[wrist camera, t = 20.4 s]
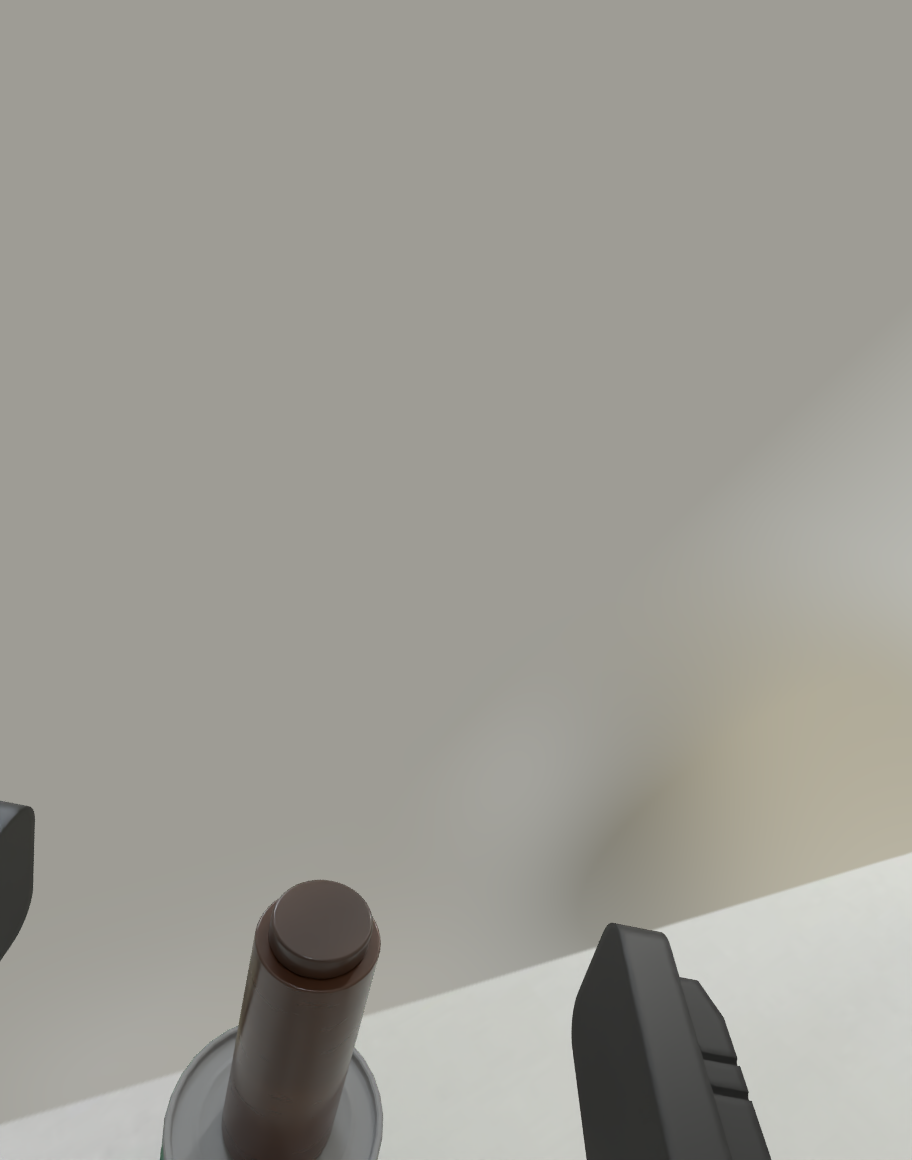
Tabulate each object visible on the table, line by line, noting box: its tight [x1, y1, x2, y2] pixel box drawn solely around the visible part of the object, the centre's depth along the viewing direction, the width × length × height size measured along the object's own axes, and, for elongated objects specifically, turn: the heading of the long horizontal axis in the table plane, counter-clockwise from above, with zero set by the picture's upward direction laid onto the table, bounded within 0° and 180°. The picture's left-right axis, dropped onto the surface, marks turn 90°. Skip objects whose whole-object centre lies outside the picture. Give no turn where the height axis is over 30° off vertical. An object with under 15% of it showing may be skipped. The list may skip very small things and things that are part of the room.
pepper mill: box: [222, 880, 381, 1160], centre depth 26 cm, size 4×4×10 cm
